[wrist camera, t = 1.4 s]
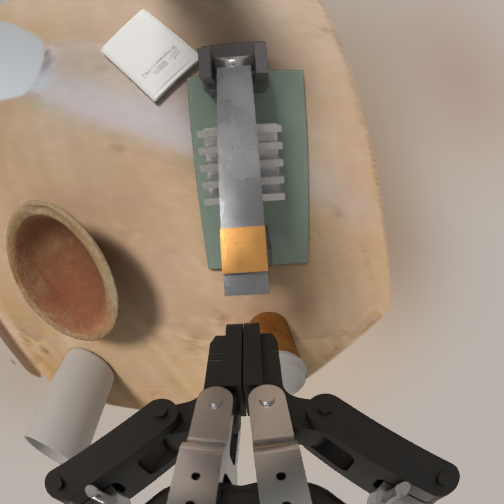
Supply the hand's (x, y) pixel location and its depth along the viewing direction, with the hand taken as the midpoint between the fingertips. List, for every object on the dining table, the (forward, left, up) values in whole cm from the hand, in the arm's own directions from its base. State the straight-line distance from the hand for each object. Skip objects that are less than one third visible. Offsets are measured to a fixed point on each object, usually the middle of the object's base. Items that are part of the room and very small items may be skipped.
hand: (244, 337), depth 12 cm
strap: (-7, 0, -12) cm, 14 cm away
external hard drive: (-22, -11, -26) cm, 36 cm away
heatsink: (-5, 0, -25) cm, 26 cm away
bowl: (+7, -29, -26) cm, 39 cm away
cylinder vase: (+34, -38, -26) cm, 57 cm away
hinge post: (-15, 0, -25) cm, 30 cm away
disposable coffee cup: (+22, +2, -26) cm, 33 cm away
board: (-3, +1, -25) cm, 26 cm away
